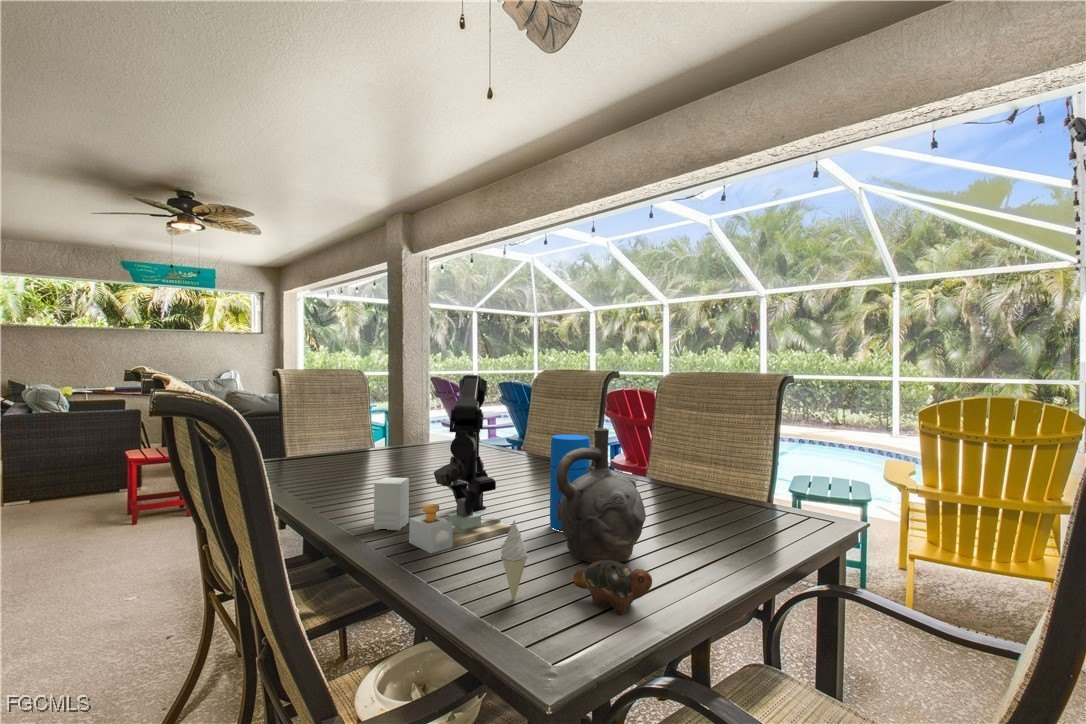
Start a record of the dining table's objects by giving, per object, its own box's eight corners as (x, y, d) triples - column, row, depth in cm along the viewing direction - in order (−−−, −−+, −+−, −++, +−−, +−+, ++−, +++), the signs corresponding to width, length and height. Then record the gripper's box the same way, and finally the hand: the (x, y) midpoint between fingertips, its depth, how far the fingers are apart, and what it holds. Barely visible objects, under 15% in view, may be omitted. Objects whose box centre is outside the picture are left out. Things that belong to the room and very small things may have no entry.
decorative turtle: (646, 626, 88) (647, 579, 88) (564, 608, 94) (564, 564, 94) (657, 602, 97) (657, 560, 97) (581, 587, 103) (581, 547, 103)
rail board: (488, 522, 145) (489, 513, 145) (511, 531, 138) (512, 521, 138) (430, 537, 132) (430, 526, 132) (452, 547, 124) (452, 536, 124)
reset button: (433, 519, 129) (433, 503, 129) (442, 522, 126) (442, 506, 126) (419, 522, 126) (419, 506, 126) (428, 526, 123) (428, 509, 123)
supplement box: (409, 522, 144) (410, 477, 144) (399, 531, 136) (400, 483, 136) (383, 521, 144) (384, 476, 144) (372, 529, 137) (373, 482, 137)
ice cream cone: (500, 593, 99) (501, 516, 100) (526, 593, 100) (527, 516, 100) (500, 605, 94) (501, 524, 95) (527, 605, 95) (528, 523, 95)
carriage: (467, 519, 137) (467, 495, 137) (480, 524, 133) (481, 499, 133) (448, 524, 133) (448, 499, 133) (461, 529, 129) (462, 503, 129)
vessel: (616, 588, 103) (618, 438, 103) (529, 563, 115) (531, 429, 116) (663, 553, 123) (664, 428, 123) (584, 535, 135) (586, 421, 136)
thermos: (543, 530, 139) (545, 438, 139) (557, 519, 148) (558, 433, 149) (582, 536, 134) (583, 440, 135) (593, 524, 144) (595, 436, 145)
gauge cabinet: (430, 537, 132) (430, 513, 132) (452, 547, 124) (453, 523, 124) (409, 542, 127) (409, 518, 127) (431, 553, 120) (431, 528, 120)
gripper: (419, 451, 134) (418, 511, 134) (460, 461, 121) (459, 527, 121) (455, 447, 142) (454, 503, 142) (497, 456, 129) (496, 518, 128)
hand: (464, 512), depth 133 cm, fingers closed on carriage, 3 cm apart
